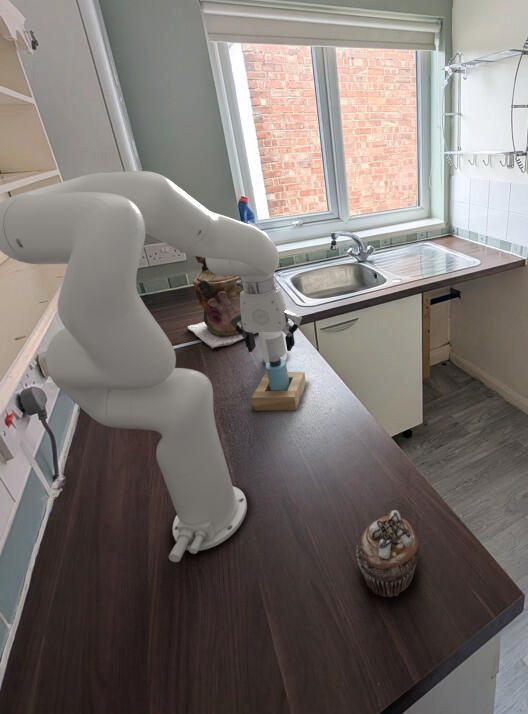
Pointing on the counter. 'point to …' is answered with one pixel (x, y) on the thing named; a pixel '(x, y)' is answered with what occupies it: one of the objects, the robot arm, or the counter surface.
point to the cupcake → (388, 554)
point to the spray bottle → (272, 345)
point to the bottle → (277, 374)
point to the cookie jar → (217, 307)
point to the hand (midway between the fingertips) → (271, 348)
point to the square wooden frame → (279, 394)
